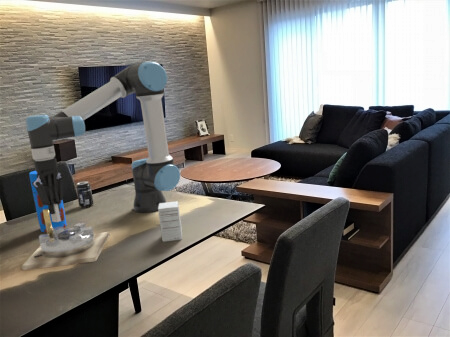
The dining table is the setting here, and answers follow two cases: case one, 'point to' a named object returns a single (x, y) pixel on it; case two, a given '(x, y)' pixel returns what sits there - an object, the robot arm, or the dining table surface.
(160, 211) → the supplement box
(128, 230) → the dining table surface
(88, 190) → the beverage can
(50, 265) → the birch base board
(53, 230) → the metal lathe chuck
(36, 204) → the thermos
